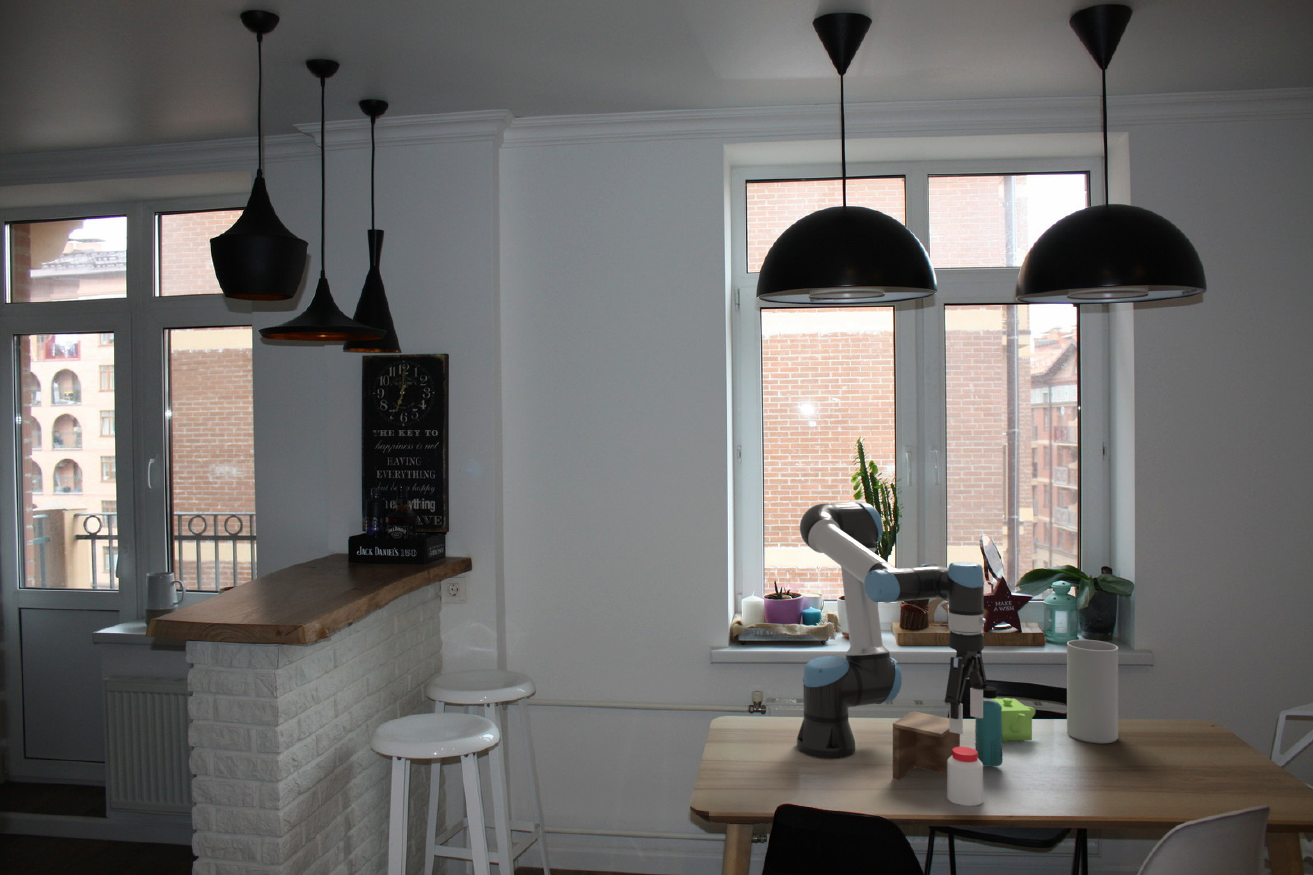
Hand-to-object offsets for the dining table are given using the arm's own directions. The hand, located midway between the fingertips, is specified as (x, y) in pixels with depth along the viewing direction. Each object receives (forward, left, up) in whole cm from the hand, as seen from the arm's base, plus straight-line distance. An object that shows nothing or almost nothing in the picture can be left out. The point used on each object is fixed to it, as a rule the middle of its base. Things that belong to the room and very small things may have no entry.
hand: (966, 724), depth 202 cm
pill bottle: (0, 0, -17) cm, 17 cm away
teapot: (-5, +47, -17) cm, 50 cm away
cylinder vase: (+13, +62, -17) cm, 66 cm away
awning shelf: (-12, +7, -17) cm, 22 cm away
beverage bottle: (-2, +22, -17) cm, 28 cm away
